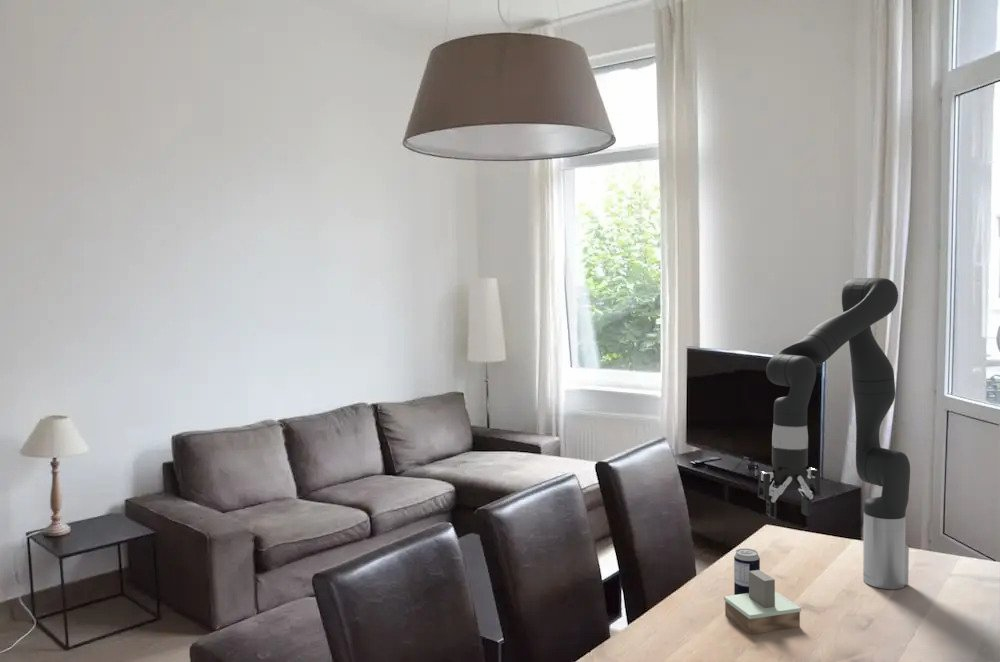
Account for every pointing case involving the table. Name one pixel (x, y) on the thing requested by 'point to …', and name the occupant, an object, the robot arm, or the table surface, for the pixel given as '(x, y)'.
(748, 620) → the box
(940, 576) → the table surface
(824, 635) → the table surface
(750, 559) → the beverage can
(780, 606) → the lid
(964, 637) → the table surface
